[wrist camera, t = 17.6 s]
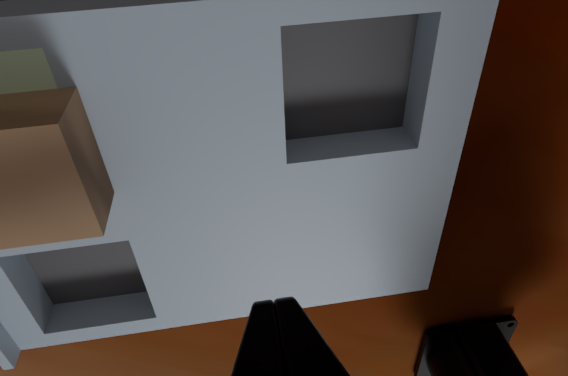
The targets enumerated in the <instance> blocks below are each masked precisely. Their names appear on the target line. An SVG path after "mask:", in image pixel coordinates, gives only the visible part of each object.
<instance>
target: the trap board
mask: <svg viewBox="0 0 568 376" xmlns="http://www.w3.org/2000/svg"><path fill="white" fill-rule="evenodd" d="M498 3H499V0H2V1H0V94H9V93H19V92H29V91H39V90H48V89H58V88H68V87H77V89H78V92H79V94H80V97H81V100H82V103H83V105H84V108H85V111H86V114H87V117H88V119H89V122H90V125H91V128H92V131H93V133H94V136H95V139H96V142H97V145H98V147H99V150H100V153H101V156H102V159H103V161H104V164H105V167H106V170H107V173H108V175H109V178H110V181H111V184H112V187H113V189H114V192H115V193H114V197H113V201H112V205H111V209H110V213H109V217H108V221H107V225H106V229H105V233H104V236H102V237H94V238H86V239H79V240H71V241H64V242H56V243H48V244H41V245H33V246H25V247H18V248H10V249H2V250H0V366H1V367H2V369H3V370H7V369H14V368H15V365H16V362H17V360H18V357H19V354H20V351H21V350H25V349H32V348H39V347H45V346H52V345H59V344H65V343H72V342H79V341H85V340H92V339H99V338H106V337H112V336H119V335H126V334H132V333H139V332H146V331H152V330H159V329H166V328H172V327H179V326H186V325H192V324H199V323H206V322H213V321H219V320H226V319H233V318H239V317H246V316H249V314H250V310H251V307H252V305H253V303H254V302H256V301H263V300H272V301H273V302H274V300H275V299H277V298H283V297H290V296H292V297H294V298H295V299H296V300H297V302H298V303H299V304H300V306H301V307H302V308H306V307H313V306H320V305H326V304H333V303H340V302H346V301H353V300H360V299H366V298H373V297H380V296H386V295H393V294H400V293H406V292H413V291H420V290H427V289H428V287H429V283H430V279H431V275H432V270H433V266H434V262H435V258H436V254H437V250H438V246H439V242H440V238H441V234H442V230H443V226H444V222H445V218H446V214H447V210H448V206H449V201H450V197H451V193H452V189H453V185H454V181H455V177H456V173H457V169H458V165H459V161H460V157H461V153H462V149H463V145H464V141H465V137H466V132H467V128H468V124H469V120H470V116H471V112H472V108H473V104H474V100H475V96H476V92H477V88H478V84H479V80H480V76H481V72H482V68H483V63H484V59H485V55H486V51H487V47H488V43H489V39H490V35H491V31H492V27H493V23H494V19H495V15H496V11H497V7H498Z"/></svg>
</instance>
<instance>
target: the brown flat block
mask: <svg viewBox="0 0 568 376" xmlns="http://www.w3.org/2000/svg"><path fill="white" fill-rule="evenodd" d="M114 193H115V192H114V189H113V187H112V184H111V181H110V178H109V175H108V173H107V170H106V167H105V164H104V161H103V159H102V156H101V153H100V150H99V147H98V145H97V142H96V139H95V136H94V133H93V131H92V128H91V125H90V122H89V119H88V117H87V114H86V111H85V108H84V105H83V103H82V100H81V97H80V94H79V92H78V89H77V87H68V88H58V89H48V90H39V91H29V92H19V93H9V94H0V250H2V249H10V248H18V247H25V246H33V245H41V244H48V243H56V242H64V241H71V240H79V239H86V238H94V237H102V236H104V233H105V229H106V225H107V221H108V217H109V213H110V209H111V205H112V201H113V197H114Z"/></svg>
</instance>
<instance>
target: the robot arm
mask: <svg viewBox="0 0 568 376" xmlns="http://www.w3.org/2000/svg"><path fill="white" fill-rule="evenodd" d="M517 323H518V322H517V320H516V319H515V317H514V316H504V317H498V318H492V319H485V320H479V321H473V322H466V323H460V324H454V325H447V326H441V327H435V328H430V329H428V330H427V331H426V332H425V335H424V339H423V343H422V347H421V350H420V354H419V358H418V362H417V365H416V369H415V373H414V376H528V374H527V372H526V371H525V369H524V367H523V366H522V364H521V363H520V361H519V359H518V358H517V356H516V354H515V353H514V351H513V350H512V348H511V346H510V345H509V341H510V338H511V336H512V334H513V332H514V330H515V328H516V326H517ZM231 376H350V375H349V374H348V372H347V371H346V369H345V368H344V367H343V365H342V364H341V362H340V361H339V359H338V358H337V357H336V355H335V354H334V352H333V351H332V350H331V348H330V347H329V345H328V344H327V343H326V341H325V340H324V338H323V337H322V335H321V334H320V333H319V331H318V330H317V328H316V327H315V326H314V324H313V323H312V321H311V320H310V318H309V317H308V316H307V314H306V313H305V311H304V310H303V309H302V307H301V306H300V304H299V303H298V302H297V300H296V299H295V298H294V297H292V296H290V297H283V298H277V299H275V300H274V302H273V301H272V300H263V301H256V302H254V303H253V305H252V307H251V310H250V314H249V317H248V321H247V324H246V327H245V331H244V334H243V337H242V341H241V344H240V348H239V351H238V354H237V358H236V361H235V364H234V368H233V371H232V375H231Z"/></svg>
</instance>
